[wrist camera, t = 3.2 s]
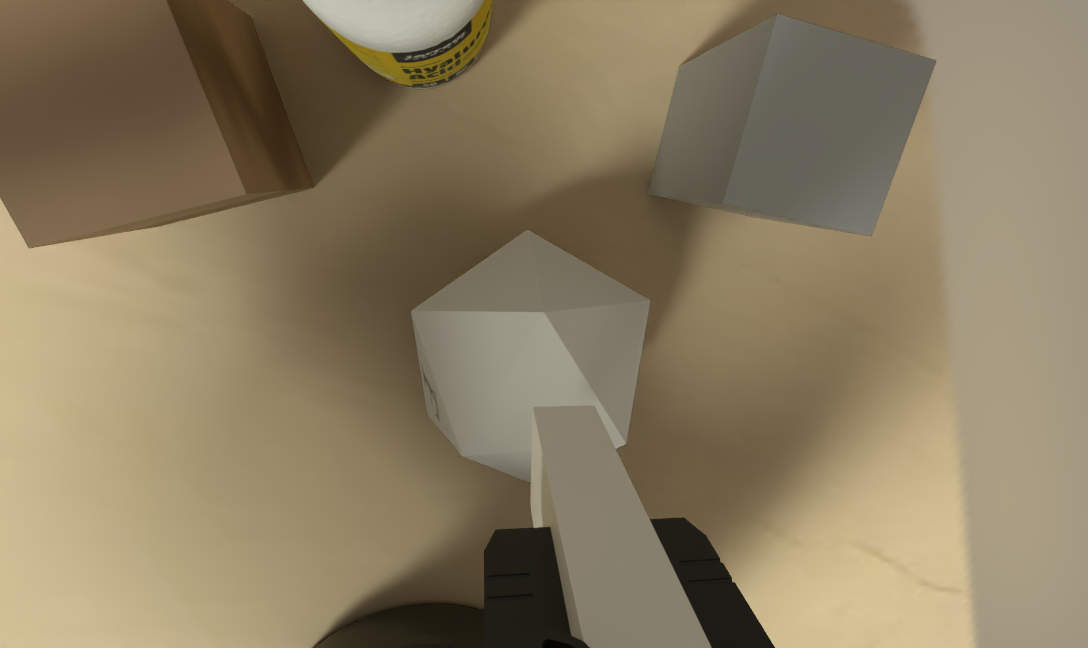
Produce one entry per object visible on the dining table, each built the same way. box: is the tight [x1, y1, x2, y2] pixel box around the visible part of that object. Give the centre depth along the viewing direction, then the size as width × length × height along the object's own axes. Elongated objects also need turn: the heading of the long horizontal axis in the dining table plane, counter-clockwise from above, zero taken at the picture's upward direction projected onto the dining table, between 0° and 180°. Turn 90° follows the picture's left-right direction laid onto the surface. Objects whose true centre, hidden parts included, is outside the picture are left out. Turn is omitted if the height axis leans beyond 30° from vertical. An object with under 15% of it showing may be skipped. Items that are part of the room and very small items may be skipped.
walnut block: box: [0, 0, 314, 248], centre depth 16 cm, size 6×6×6 cm
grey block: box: [647, 14, 936, 236], centre depth 18 cm, size 5×5×7 cm
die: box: [411, 229, 651, 483], centre depth 19 cm, size 8×9×10 cm
